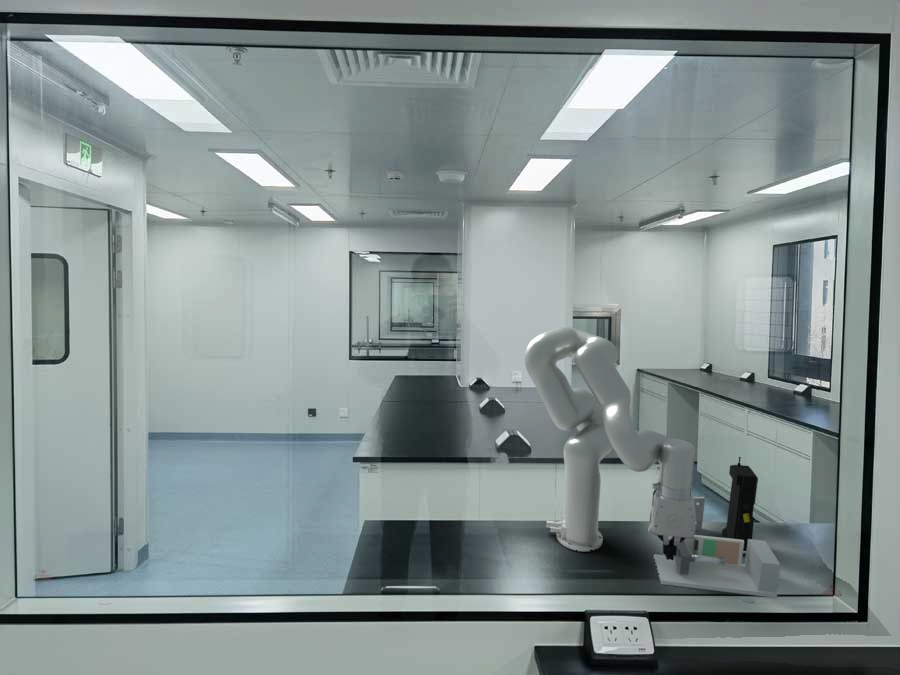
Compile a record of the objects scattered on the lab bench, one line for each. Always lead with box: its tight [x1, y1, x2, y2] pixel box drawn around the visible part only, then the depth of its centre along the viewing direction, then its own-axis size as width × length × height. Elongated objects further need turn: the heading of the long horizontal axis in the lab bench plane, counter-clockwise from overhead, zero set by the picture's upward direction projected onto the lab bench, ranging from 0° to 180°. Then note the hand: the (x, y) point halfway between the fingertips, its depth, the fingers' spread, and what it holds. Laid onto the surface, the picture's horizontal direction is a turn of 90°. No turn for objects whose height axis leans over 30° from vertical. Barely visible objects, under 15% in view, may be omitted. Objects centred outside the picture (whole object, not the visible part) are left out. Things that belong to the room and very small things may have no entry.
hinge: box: [651, 489, 706, 531], centre depth 159 cm, size 14×5×10 cm, turn 69°
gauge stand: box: [653, 534, 781, 599], centre depth 137 cm, size 26×11×8 cm, turn 79°
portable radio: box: [721, 456, 759, 551], centre depth 148 cm, size 8×6×25 cm
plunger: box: [674, 540, 726, 575], centre depth 138 cm, size 11×7×6 cm, turn 79°
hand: (668, 556), depth 139 cm, fingers closed
